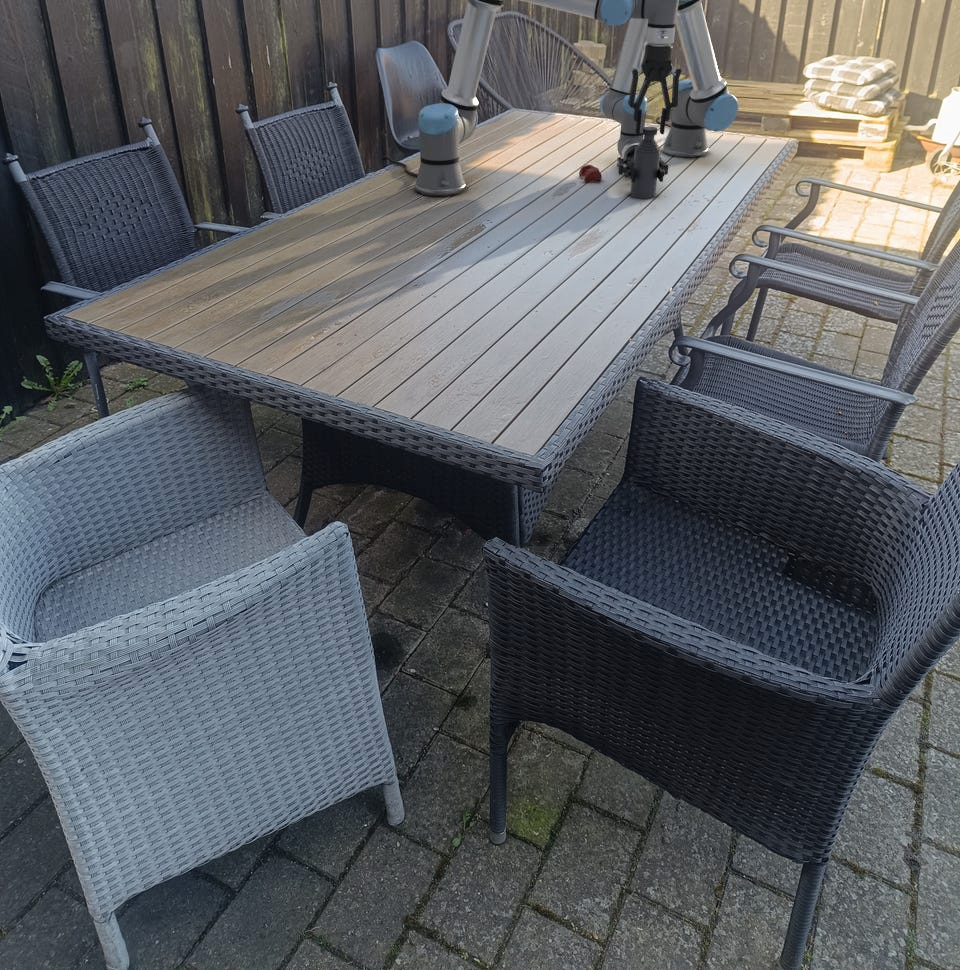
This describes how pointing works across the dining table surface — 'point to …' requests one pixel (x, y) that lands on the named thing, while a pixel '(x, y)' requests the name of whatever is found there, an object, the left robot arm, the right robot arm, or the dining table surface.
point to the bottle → (645, 168)
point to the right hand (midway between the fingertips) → (648, 177)
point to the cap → (649, 131)
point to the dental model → (590, 173)
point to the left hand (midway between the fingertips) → (649, 133)
